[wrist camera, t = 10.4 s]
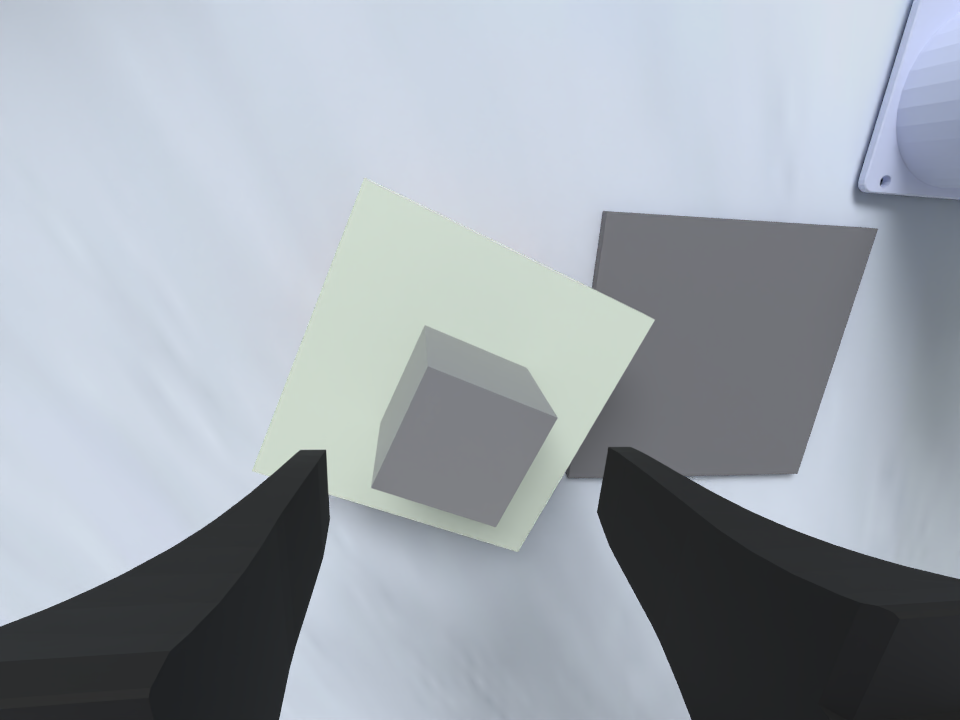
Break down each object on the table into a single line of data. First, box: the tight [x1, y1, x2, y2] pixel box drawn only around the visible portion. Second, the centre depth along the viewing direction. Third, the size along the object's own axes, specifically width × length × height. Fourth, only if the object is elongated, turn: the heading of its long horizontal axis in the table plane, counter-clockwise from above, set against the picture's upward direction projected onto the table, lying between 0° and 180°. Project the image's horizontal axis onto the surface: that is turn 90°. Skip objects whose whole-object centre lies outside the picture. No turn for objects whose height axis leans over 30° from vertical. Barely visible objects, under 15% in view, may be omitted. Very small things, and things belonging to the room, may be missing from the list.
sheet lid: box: [252, 178, 655, 552], centre depth 16 cm, size 11×11×5 cm
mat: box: [566, 211, 878, 478], centre depth 23 cm, size 13×13×1 cm
